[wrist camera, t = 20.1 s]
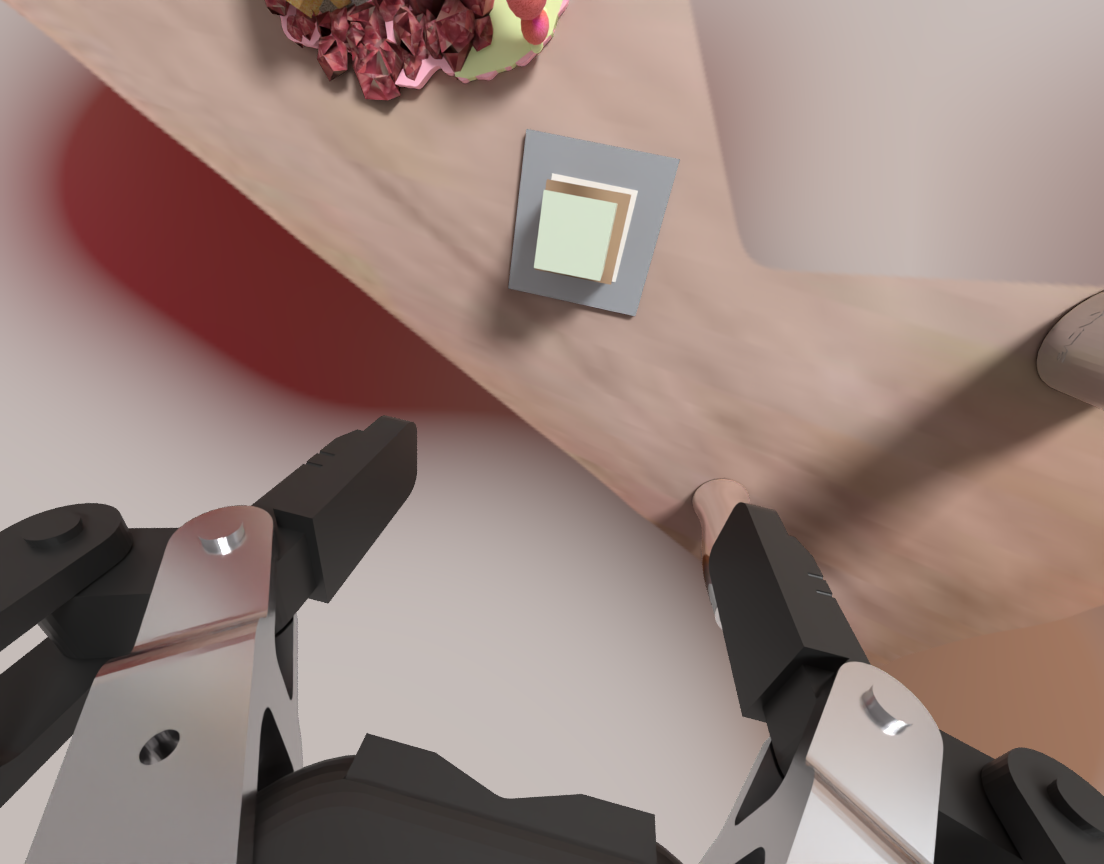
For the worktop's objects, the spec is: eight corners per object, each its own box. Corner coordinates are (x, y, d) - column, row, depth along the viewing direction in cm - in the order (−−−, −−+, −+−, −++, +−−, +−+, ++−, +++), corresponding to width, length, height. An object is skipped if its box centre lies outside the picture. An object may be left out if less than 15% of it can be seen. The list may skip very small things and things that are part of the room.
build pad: (678, 160, 30) (679, 159, 30) (635, 314, 37) (635, 316, 36) (528, 130, 31) (526, 128, 30) (510, 287, 37) (508, 288, 37)
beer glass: (677, 511, 47) (697, 626, 34) (706, 466, 43) (740, 576, 30) (732, 530, 47) (773, 653, 34) (765, 487, 43) (825, 605, 30)
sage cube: (617, 203, 28) (616, 203, 24) (603, 271, 30) (600, 281, 26) (555, 192, 28) (543, 189, 24) (545, 260, 30) (533, 267, 26)
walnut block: (630, 196, 32) (631, 194, 27) (612, 275, 35) (610, 284, 30) (557, 182, 32) (546, 178, 28) (546, 261, 35) (534, 269, 31)
